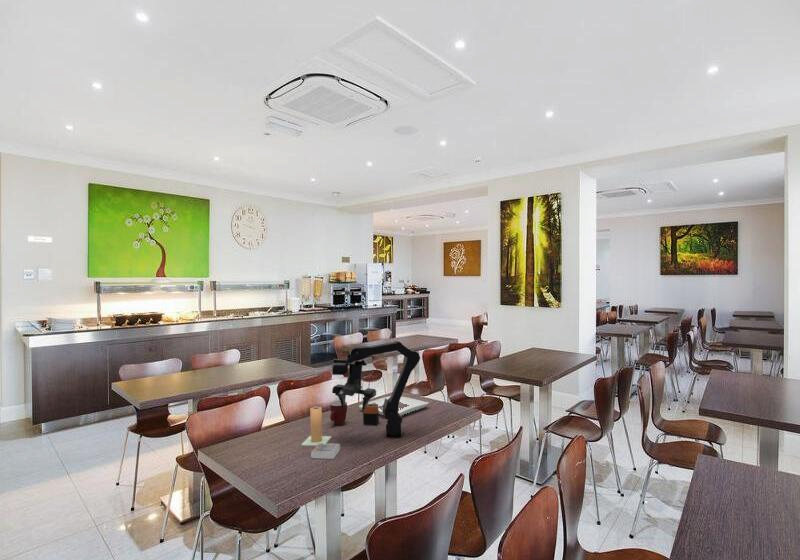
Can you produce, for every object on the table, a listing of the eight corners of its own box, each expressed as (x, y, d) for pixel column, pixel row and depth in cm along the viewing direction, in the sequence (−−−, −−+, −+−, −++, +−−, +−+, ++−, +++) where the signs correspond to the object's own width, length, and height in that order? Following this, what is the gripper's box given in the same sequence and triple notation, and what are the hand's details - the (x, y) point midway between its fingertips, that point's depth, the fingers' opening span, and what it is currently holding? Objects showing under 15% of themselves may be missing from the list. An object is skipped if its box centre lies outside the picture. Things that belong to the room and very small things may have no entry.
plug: (324, 439, 188) (323, 406, 188) (316, 443, 184) (315, 409, 184) (316, 437, 190) (315, 404, 190) (308, 441, 186) (307, 407, 186)
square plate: (429, 408, 229) (429, 401, 229) (394, 422, 209) (393, 414, 209) (393, 400, 248) (393, 393, 248) (357, 412, 228) (357, 404, 228)
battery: (376, 425, 205) (376, 404, 205) (363, 425, 206) (362, 404, 206) (379, 422, 209) (378, 402, 209) (365, 422, 211) (365, 401, 211)
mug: (340, 429, 202) (339, 407, 202) (325, 427, 205) (324, 406, 205) (350, 421, 212) (349, 401, 212) (335, 420, 214) (335, 400, 214)
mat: (331, 437, 191) (331, 436, 191) (323, 446, 181) (323, 445, 181) (309, 437, 193) (309, 435, 193) (301, 445, 183) (301, 444, 183)
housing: (340, 449, 177) (339, 443, 177) (333, 458, 168) (333, 452, 168) (319, 449, 178) (319, 443, 178) (311, 458, 169) (311, 452, 169)
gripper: (327, 376, 183) (325, 412, 183) (368, 381, 178) (366, 418, 178) (338, 371, 194) (336, 406, 194) (377, 376, 189) (375, 411, 189)
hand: (353, 410), depth 188 cm, fingers open, 9 cm apart
